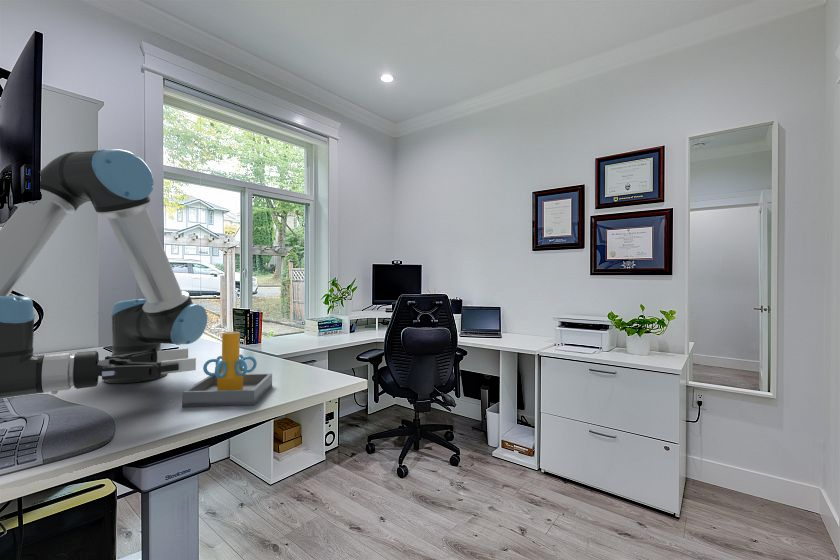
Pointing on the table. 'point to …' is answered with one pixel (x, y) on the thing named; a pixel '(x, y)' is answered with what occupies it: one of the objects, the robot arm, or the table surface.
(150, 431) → the table surface
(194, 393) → the tray
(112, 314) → the robot arm
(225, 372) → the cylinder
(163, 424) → the table surface
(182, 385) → the table surface
